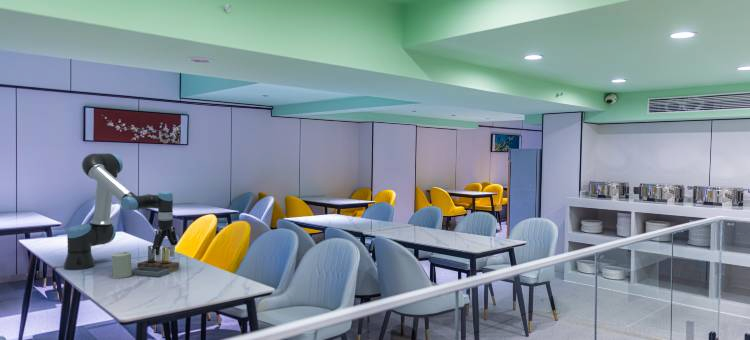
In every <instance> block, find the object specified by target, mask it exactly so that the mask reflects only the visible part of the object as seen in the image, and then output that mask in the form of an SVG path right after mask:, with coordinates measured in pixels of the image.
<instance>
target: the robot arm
mask: <svg viewBox="0 0 750 340" xmlns="http://www.w3.org/2000/svg"><path fill="white" fill-rule="evenodd" d="M81 167H82V170H83V173H84V174H85V175H86V176H87V177H88V178H90V180H91V179H92V180H95V181H96V192H95V201H94V211H93V219H91V220H90V221H89V223H88V224H87V223H86V224H85V223H83V224H76V225H73V226H70V227H69V228H68V230H67V235H66V237H67V255H66V257H65V262H64V263H63V269H65V270H85V269H91V268H94V267H95V260H94V258H93V257H94V256H93V253H92V247H94V246H95V247H96V246H100V245H101V246H102V245H106V244H109V243H111V242H113V240H114V239H115V238H116V235H117V231H116V227H115V226H114V224H113V221H112V220H111V211H112V204H113V203H112V201H113V196H114V197H115V199H117V200H118V201H119V202H120V206H121V208H122V210H124V211H126V212H128V211H129V212H132V211H138V210H139V211H140V210H146V209H147V210H148V209H157V219H158V221H157V227H159V229H157V230H155V235H154V240H153V245H152V246H153V248H154V249H155V261H162V247H161V246H162V244H163V242H164V240H165V238H167V239H168V242H169V243H170V245H169V258H170V257H172V258H174V257H175V256H176V255H175V251H176V246H177V245H178V243H179V242H178V237H177V235H176V227H173V225H174V220H173V219H174V218H173V217H174V215H173V213H174V211H173V209H174V195H173V192H172V191H159V192H158V194H151V193H148V194H147V193H146V194H143V195H142V194H141V195H136V194H135V193H134V192H133V191H131V190H130V189H129V188H128V187H127V186H125V184H123V183H122V182H121V181H120V180H118V174H119V173H121V172H122V171H123V168H124V163H123V160H122V158H121V157H120V155H118V154H116V153H90V154H88V155H86V156H85V157H84V158H83V160H82V162H81Z"/></svg>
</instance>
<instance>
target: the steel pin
mask: <svg viewBox="0 0 750 340" xmlns="http://www.w3.org/2000/svg"><path fill="white" fill-rule="evenodd" d="M147 260H148V263H155V261H156V254H155V249H154V248H153V245H148V246H147Z"/></svg>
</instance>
